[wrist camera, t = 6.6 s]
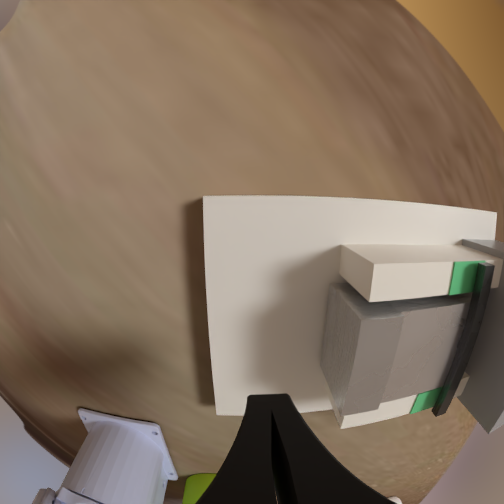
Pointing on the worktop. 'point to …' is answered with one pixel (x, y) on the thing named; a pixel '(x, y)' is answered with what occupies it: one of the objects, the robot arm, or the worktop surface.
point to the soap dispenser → (196, 487)
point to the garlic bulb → (395, 500)
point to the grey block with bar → (399, 344)
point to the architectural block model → (339, 271)
